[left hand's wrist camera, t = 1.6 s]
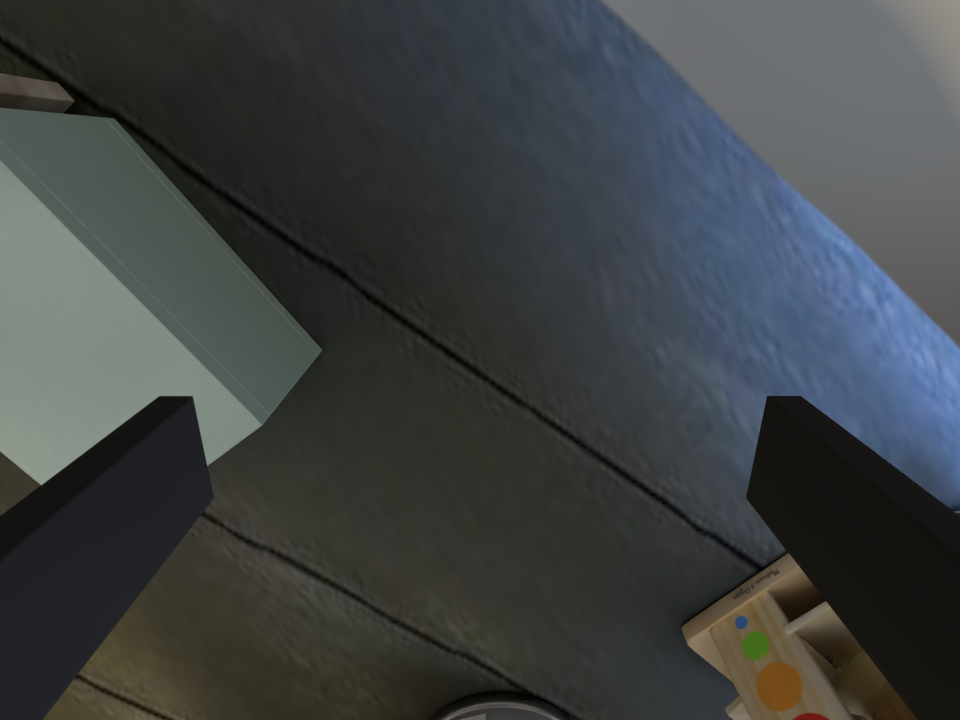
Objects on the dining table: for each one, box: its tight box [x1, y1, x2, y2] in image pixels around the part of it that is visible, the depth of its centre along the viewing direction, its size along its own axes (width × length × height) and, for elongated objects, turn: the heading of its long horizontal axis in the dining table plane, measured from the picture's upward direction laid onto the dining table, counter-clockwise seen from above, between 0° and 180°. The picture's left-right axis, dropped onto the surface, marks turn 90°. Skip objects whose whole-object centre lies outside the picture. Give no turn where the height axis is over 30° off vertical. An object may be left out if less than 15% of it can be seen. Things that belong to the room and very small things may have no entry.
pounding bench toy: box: [682, 510, 960, 720], centre depth 35 cm, size 23×14×18 cm, turn 136°
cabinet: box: [0, 108, 322, 485], centre depth 30 cm, size 18×11×11 cm, turn 37°
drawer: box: [0, 73, 74, 114], centre depth 28 cm, size 22×10×9 cm, turn 37°
